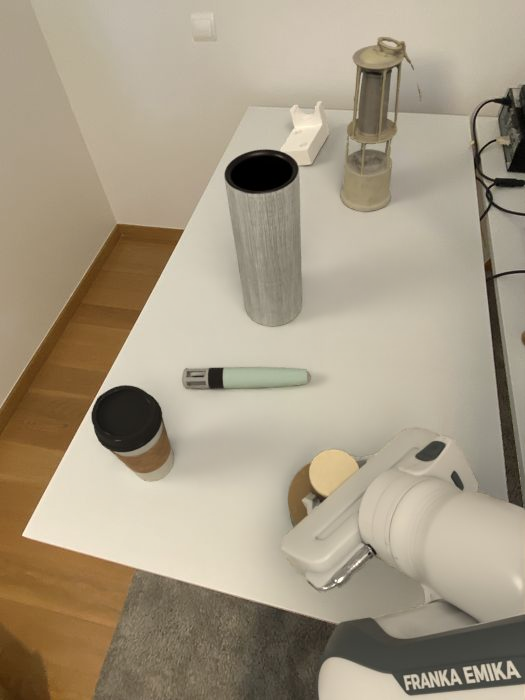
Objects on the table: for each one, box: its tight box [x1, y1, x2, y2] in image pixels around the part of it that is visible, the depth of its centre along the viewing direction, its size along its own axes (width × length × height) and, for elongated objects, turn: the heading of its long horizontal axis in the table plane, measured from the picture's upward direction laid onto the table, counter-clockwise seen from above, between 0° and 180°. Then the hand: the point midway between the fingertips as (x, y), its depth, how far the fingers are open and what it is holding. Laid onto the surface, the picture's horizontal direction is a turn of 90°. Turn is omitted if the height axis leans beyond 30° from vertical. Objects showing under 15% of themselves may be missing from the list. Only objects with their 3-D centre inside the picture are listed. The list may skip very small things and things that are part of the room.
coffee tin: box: [287, 461, 312, 529], centre depth 64 cm, size 11×11×4 cm
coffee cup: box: [90, 384, 175, 482], centre depth 66 cm, size 8×8×15 cm
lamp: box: [340, 36, 422, 213], centre depth 91 cm, size 10×13×30 cm
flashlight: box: [181, 366, 312, 390], centre depth 78 cm, size 3×4×20 cm
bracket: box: [279, 100, 330, 166], centre depth 112 cm, size 13×7×8 cm, turn 157°
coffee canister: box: [309, 449, 359, 502], centre depth 59 cm, size 6×6×8 cm
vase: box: [223, 148, 303, 327], centre depth 77 cm, size 10×10×27 cm
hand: (330, 482), depth 59 cm, fingers closed on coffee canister, 5 cm apart
